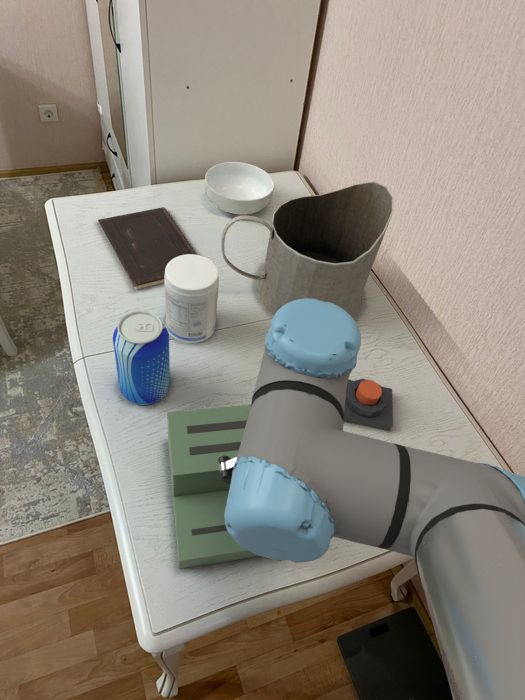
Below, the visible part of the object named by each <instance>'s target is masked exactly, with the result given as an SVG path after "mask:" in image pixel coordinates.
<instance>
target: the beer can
mask: <svg viewBox="0 0 525 700" xmlns="http://www.w3.org/2000/svg"><path fill="white" fill-rule="evenodd" d="M112 344H113V345H112V346H113V353H114V356H115V364H116V372H117V379H118V386H119V391H120V393H121V395H122V397H124V399H125V400H127V401H128V402H130V403H133V404H135V405H140V406H146V405H152V404H155V403H158V402H159V401H161V400H162V399H164V397H165V396H167V394H168V392H169V389H170V386H171V377H170V376H171V375H170V374H171V369H170V334H169V333H168V330H167V328H166V324H164V323H163V322H162V320H161V318H160V317H159V316H158V315H157V314H155V313H153V312H151V311H147V310H134V311H131V312H128V313H127V314H125V315H123V316H122V317H121V319H119V321H118V323H117V326H116V327H115V329H114V331H113V333H112Z"/></svg>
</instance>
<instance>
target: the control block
mask: <svg viewBox="0 0 525 700" xmlns="http://www.w3.org/2000/svg"><path fill="white" fill-rule="evenodd" d="M364 380H368V379H367V378H359V379H356V380H351V379H348V383H347V390H346V399H345V408H344V423H348V424H352V425H353V424H354V425H358V426H363V427H367V428H372V429H378V430H382V431H388V432H390V431H391V429H392V427H393V426H394V418H393V417H394V416H393V415H394V414H393V413H394V412H393V411H394V410H393V409H394V407H393V388H390V387H387V386H382V385H381V384H379V383H377V384H378V385H379V386H380V387H381V389H382V394H381V396H380V398H379V400H378V402H377V403H376V404H375V405H372V406H368V405H364V404H362V403H361V402H359V400H358V399H357V397H356V391H357V389H358V387H359V385H360V383H361V382H362V381H364ZM370 380H371V381H373V380H372V379H370Z"/></svg>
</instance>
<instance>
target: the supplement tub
mask: <svg viewBox="0 0 525 700" xmlns="http://www.w3.org/2000/svg"><path fill="white" fill-rule="evenodd" d="M219 286H220V275H219V269H218V266H217V265H216V263H215V262H214V261H212V260H211V259H210V258H208V257H206V256H204V255H200V254H197V255H195V254H186V255H181V256H178V257H175V258H174V259H172V260H171V261H170V262H169V263H168V264H167V266H166V268H165V276H164V304H165V305H164V307H165V308H164V309H165V310H164V311H165V327H166V328H167V330H168V333H169V336H171V337H172V338H174V340H177V341H179V342H181V343H186V344H197V343H201V342H204V341H206V340H208V339H209V338H210V337H211V336H213V334H214V332H215V329H216V325H217V324H216V323H217V310H218V297H219Z"/></svg>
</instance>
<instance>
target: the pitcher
mask: <svg viewBox="0 0 525 700" xmlns="http://www.w3.org/2000/svg"><path fill="white" fill-rule="evenodd" d="M393 213H394V195H393V194H392V192H391V191H390V189H389V188H388V187H387V186H386V185H383V184H382V183H380V182H377V181H367V182H361V183H355V184H353V185H350V186H349V185H348V186H346V187H343V188H339V189H336V190H332V191H329V192H326V193H322V194H315V195H305V196H299V197H295V198H291V199H289V200H287V201H285V202H283V203H281V204H280V205H279V206H278V207H277V208H276V210H275V211H274V212H273V214H272V220H271V225H270V224H269V223H268V222H267V221H265V220H264V219H262V218H260V217H257V216H254V215H246V214H245V215H238V216H235V217H233V218H231V219H230V220H229V221H228V222H227V223H226V224H225V225H224V228H223V230H222V234H221V243H220V244H221V245H220V246H221V253H222V254H221V255H222V258H223V260H224V262H225V263H226V264H227V266H229V268H230V269H232V270H233V271H234V272H236V273H238V274H239V275H240V276H243V277H246V278H248V279H252V280H256V281H257V285H256V290H257V293H258V297H259V299H260V301H261V302H262V305H264V306H265V308H266V310H267V311H268V312H269V313H271V314H272V315H273V316H274V315H275V313H276V312H277V311H278V310H279V309H280V308H281V307H282V306H284V305H285V304H287V303H289V302H291V301H294V300H298V299H305V298H311V299H317V300H319V301H324V302H330V303H333V304H335V305H337V306H339V307H341V308H342V309H344V310H345V311H346V312H347V313H348V314H349V315H351V317H352V318H353V319H354V320H355V318H357V316H358V315H359V313H360V310H361V309H362V304H363V303H362V294H363V292H364V289H365V287H366V284H367V282H368V280H369V276H370V274H371V271H372V268H373V266H374V263H375V261H376V258H377V255H378V253H379V251H380V247H381V245H382V242H383V240H384V237H385V235H386V232H387V229H388V226H389V224H390V222H391V219H392V215H393ZM240 221H252V222H256V223H259V224H261V225H262V226H264V227H266V228H267V229H268V230H269V232H270V233H269V237H268V241H267V242H268V244H267V249H266V255H265V260H264V266H263V270H262V272H261V273H260V274H259V275H255V274H253V273H249V272H246V271H243V270H241V269H239V268H238V267H236V265H234V264H233V263H232V262H231V261H230V259H228V258H227V255H226V253H225V252H226V251H225V242H226V241H225V240H226V235H227V233H228V231H229V229H230V228H231V226H233V225H234V224H235V223H236V222H240Z"/></svg>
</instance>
